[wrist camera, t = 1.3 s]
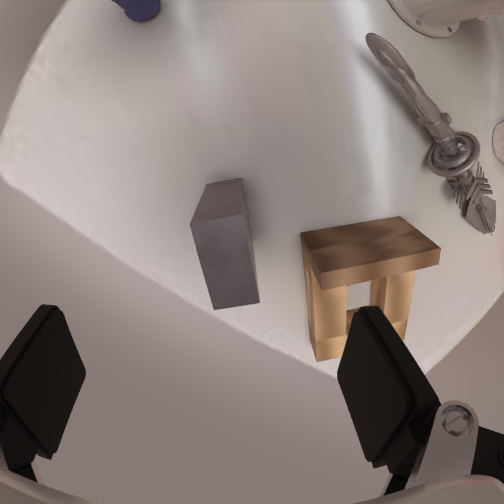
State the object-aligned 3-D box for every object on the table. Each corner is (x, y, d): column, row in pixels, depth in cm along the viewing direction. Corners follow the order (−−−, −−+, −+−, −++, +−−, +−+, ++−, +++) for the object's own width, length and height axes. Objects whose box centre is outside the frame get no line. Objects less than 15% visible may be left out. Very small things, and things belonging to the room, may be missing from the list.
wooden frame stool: (400, 216, 36) (440, 248, 27) (391, 320, 44) (417, 362, 35) (300, 232, 37) (320, 273, 28) (310, 339, 45) (324, 388, 36)
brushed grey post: (240, 177, 34) (242, 214, 22) (252, 241, 37) (259, 302, 25) (206, 184, 34) (189, 224, 22) (220, 246, 37) (214, 310, 26)
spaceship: (405, 6, 18) (381, 40, 18) (514, 215, 32) (502, 258, 32) (357, 30, 25) (328, 65, 25) (477, 209, 40) (462, 248, 39)
